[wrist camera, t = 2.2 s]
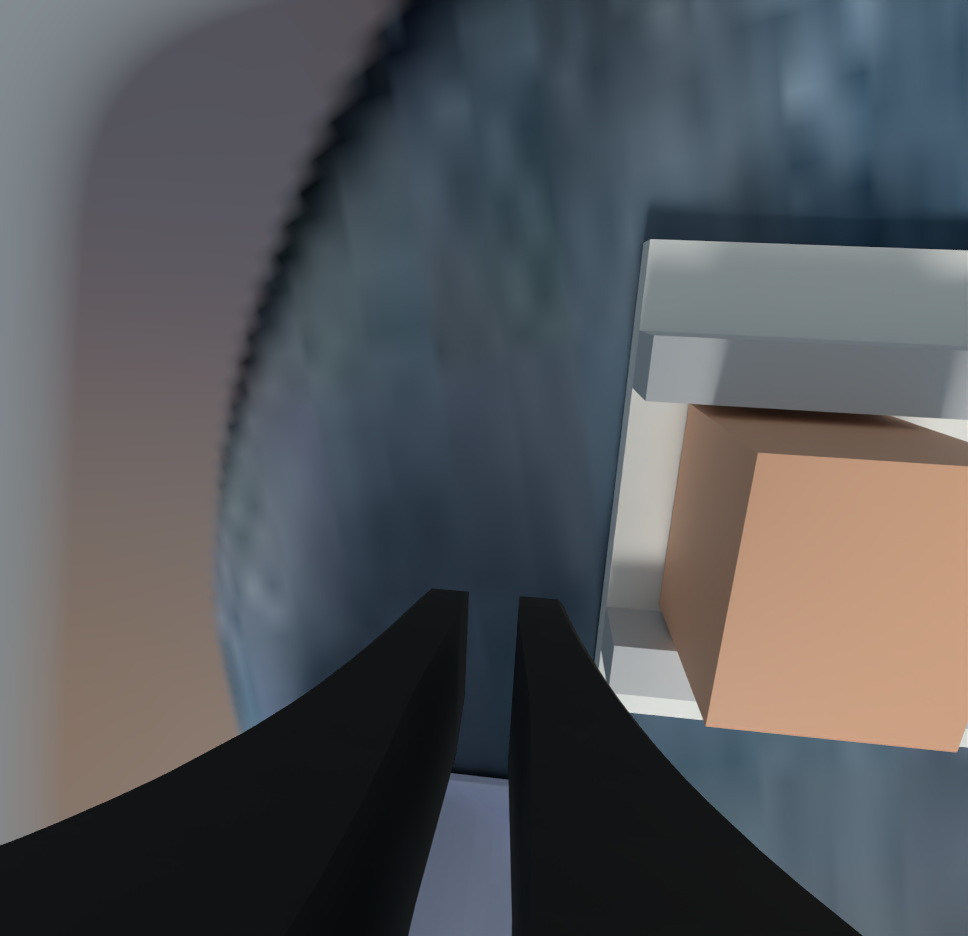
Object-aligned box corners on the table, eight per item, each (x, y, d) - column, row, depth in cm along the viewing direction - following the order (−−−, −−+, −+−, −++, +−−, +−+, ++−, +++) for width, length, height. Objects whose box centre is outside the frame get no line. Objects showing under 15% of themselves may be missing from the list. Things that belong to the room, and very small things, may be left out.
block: (659, 604, 17) (705, 726, 12) (689, 403, 15) (757, 452, 10) (835, 619, 16) (957, 752, 12) (888, 415, 15) (1056, 472, 10)
